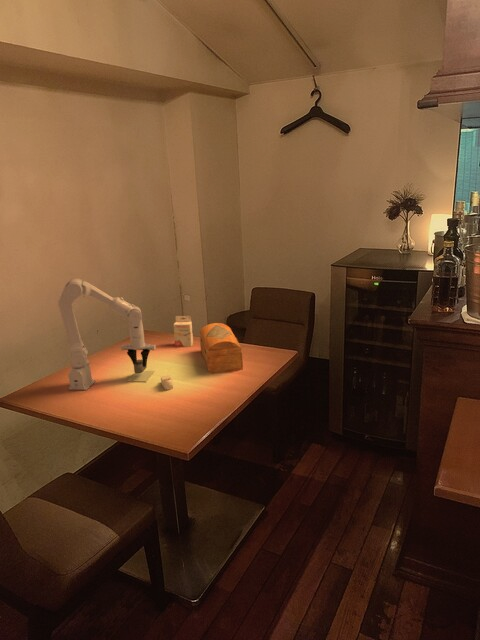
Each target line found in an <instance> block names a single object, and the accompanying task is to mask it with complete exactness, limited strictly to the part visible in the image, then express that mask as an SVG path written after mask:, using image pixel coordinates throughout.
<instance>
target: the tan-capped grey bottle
mask: <svg viewBox="0 0 480 640" xmlns="http://www.w3.org/2000/svg"><path fill="white" fill-rule="evenodd" d="M147 367H148V365H146V366H145V367H143V359H137V361H136V362H135V363H134V365H133V371H134V374H135V373H142V372H143V371H146V369H147Z"/></svg>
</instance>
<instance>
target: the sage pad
mask: <svg viewBox="0 0 480 640" xmlns="http://www.w3.org/2000/svg"><path fill="white" fill-rule="evenodd" d="M154 373H155V370H144V371H143V372H142V373H135V372H134V374H132V376H131V377H129V379H128V380H127V382H128V383H147V382H148V381H149V379H150V378H151V377H152V376H153V375H154Z"/></svg>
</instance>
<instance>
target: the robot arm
mask: <svg viewBox="0 0 480 640" xmlns="http://www.w3.org/2000/svg"><path fill="white" fill-rule="evenodd" d="M81 296H82V297H92V298H95V299H97V300H99V301H101V302H103V303H104V304H107V305H108V306H109V308H110V310H111V311H113V312H115V313H116V314H118V315H120V316H122V317H124V318H125V317H126V318H127V320H128V331H129V340H130V343H128V344H122V345H120V351H127V352H126V354H127V356H129V358H130V360H131V362H132V364H133V366H134V363H135V362H136V361H137V360H138V357H137V351H141V352H140V355H141V358H142V359H141V360H143V367H145V366H146V365H147V362H148V357H149V355H150V352H151V351H155V350H157V348H156V344H152V343H151V344H149V343H146V342H145V333H144V332H145V331H144V325H143V314H142V311H141V308H140V307H139V306H138V305H135V304H133V303H130V302H127V301H126V300H124V298H123V297H122V296H120V297H119V296H116V297H113V296H111V295H109V294H108V293H106V292H104V291H103V290H101V289H99V288H98V287H96V286H95V285H93V284H91V283H89V282H87V281H86V280H83V279H81V278H78V277H73V278H70V280H69V281H68V282H67V283H66V284H65V286H64V287H63V289H62V292H61V294H60V297H59V300H58V301H57V302H58V307H59V312H60V314H61V317H62V318H61V319H62V322H63V326H64V329H65V333H66V337H67V339H68V340H67V341H68V344H69V353H70V358H69V362H70V371H69V372H68V382H69V387H68V388H67V389H68V390H70V391H71V390H72V391H73V390H74V391H75V390H78V391H79V390H82V391H86V390H88V389H89V388H90V387H91V386H92V385H93V384H94V383H96V382H97V379H92V377H93V376H92V371H91V362H90V361H89V359H88V354H89V351H88V349H87V347H86V346H85V345H84V342H83V340H82V337H81V333H80V331H79V330H80V329H79V325H78V323H77V317H76V315H75V311H74V308H73V304H74V302H75V300H76V299H78V298H80V297H81ZM147 366H148V365H147Z"/></svg>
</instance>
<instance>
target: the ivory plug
mask: <svg viewBox="0 0 480 640" xmlns="http://www.w3.org/2000/svg"><path fill="white" fill-rule="evenodd" d="M160 382H161V387H162V388H163V389H164V391H172V390H173V388H174V384H173V378H172V377H171V375H168V374H167V375H162V376H160Z"/></svg>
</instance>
